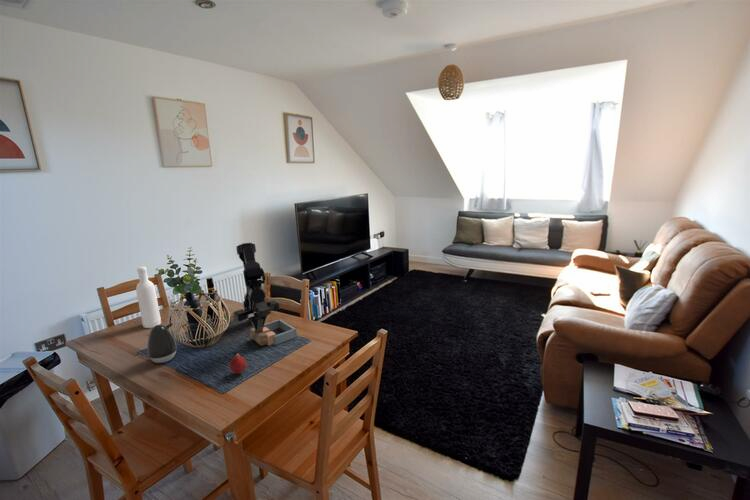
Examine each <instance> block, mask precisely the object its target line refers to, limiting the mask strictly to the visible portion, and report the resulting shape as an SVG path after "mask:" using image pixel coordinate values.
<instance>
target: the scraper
mask: <svg viewBox="0 0 750 500" xmlns="http://www.w3.org/2000/svg"><path fill="white" fill-rule="evenodd" d="M255 320H256V326H257V330H255V329H254V327H251V328H250V329H249V337H250V338H251V339H252V340H253V341H255V342H256V343H257V344H258V345H259V346H265V345H267V342H268V335H267V334H265V333H264V332H263V318H261V317H260V318H256V319H255Z"/></svg>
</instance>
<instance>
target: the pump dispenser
mask: <svg viewBox="0 0 750 500" xmlns="http://www.w3.org/2000/svg"><path fill="white" fill-rule="evenodd" d="M173 325H174V324H173V322H170V323H168V324H167V325H163V324H160V325H156V326H154V327H152V328H150V329H151V330H150V332H149V335H148V338H147V344H146V345H147V346H146V347H147V349H146V350H147V356H148V358H149V359H150V360H151V361H152V362H154V363H156V364H163V363H167V362H170V360H172V359H173V358H174V357H175V355H176V353H177V349H178V346H177V343H176V340H175V338H174V336H173V334H172V332H171V330H170V328H171V327H172V326H173Z"/></svg>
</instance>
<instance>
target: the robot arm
mask: <svg viewBox="0 0 750 500" xmlns="http://www.w3.org/2000/svg"><path fill="white" fill-rule="evenodd" d="M256 253H257V248H256V243H253V242H243V243H240V244H238V245H237V246H236V255H238V258H239V260H241V262H242V264H243V270H242V272H243V280H244V285H245V288H246V292H245V294H244V296H243V300H242V301H243V303H242V304H243V305H242V306H243V307H242V308H241V309H238V310H235V311H233V312H234V314H233V315H234V318H235V319H234V320H236V321H238V322H242V321H245V322H246V323H247V324H248V325H250V326H253V327H252V328H254V329H255V330H257V326H256V320H255V319H256V318H260V317H261V318H263V327H264V324H266V320H267V317H268V316H269V315H270V314H272V312H271V311H274V312H275V311H278V310H280V309H281V305H280V303H279V302H278V301H275V300H270V301H267V302H266V300H265V299H266V293H265V291H264V289H263V287H262V284H266V279H267V278H266V275H265V270H264V268H263V267H261V264H260V262H257V261H256V255H255V254H256Z"/></svg>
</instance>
